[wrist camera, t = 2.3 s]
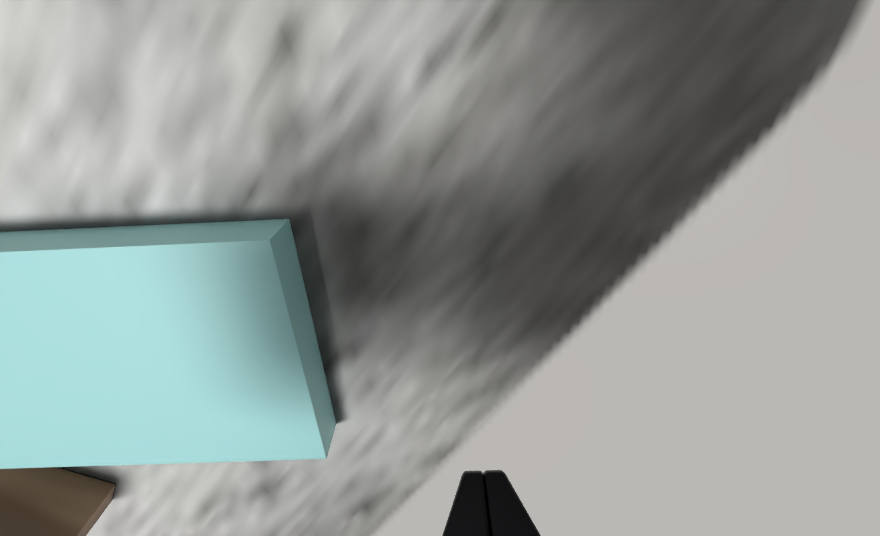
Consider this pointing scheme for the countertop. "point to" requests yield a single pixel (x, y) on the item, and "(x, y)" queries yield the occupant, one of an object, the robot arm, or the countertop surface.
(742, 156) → the countertop surface
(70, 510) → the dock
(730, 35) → the countertop surface
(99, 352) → the panel
